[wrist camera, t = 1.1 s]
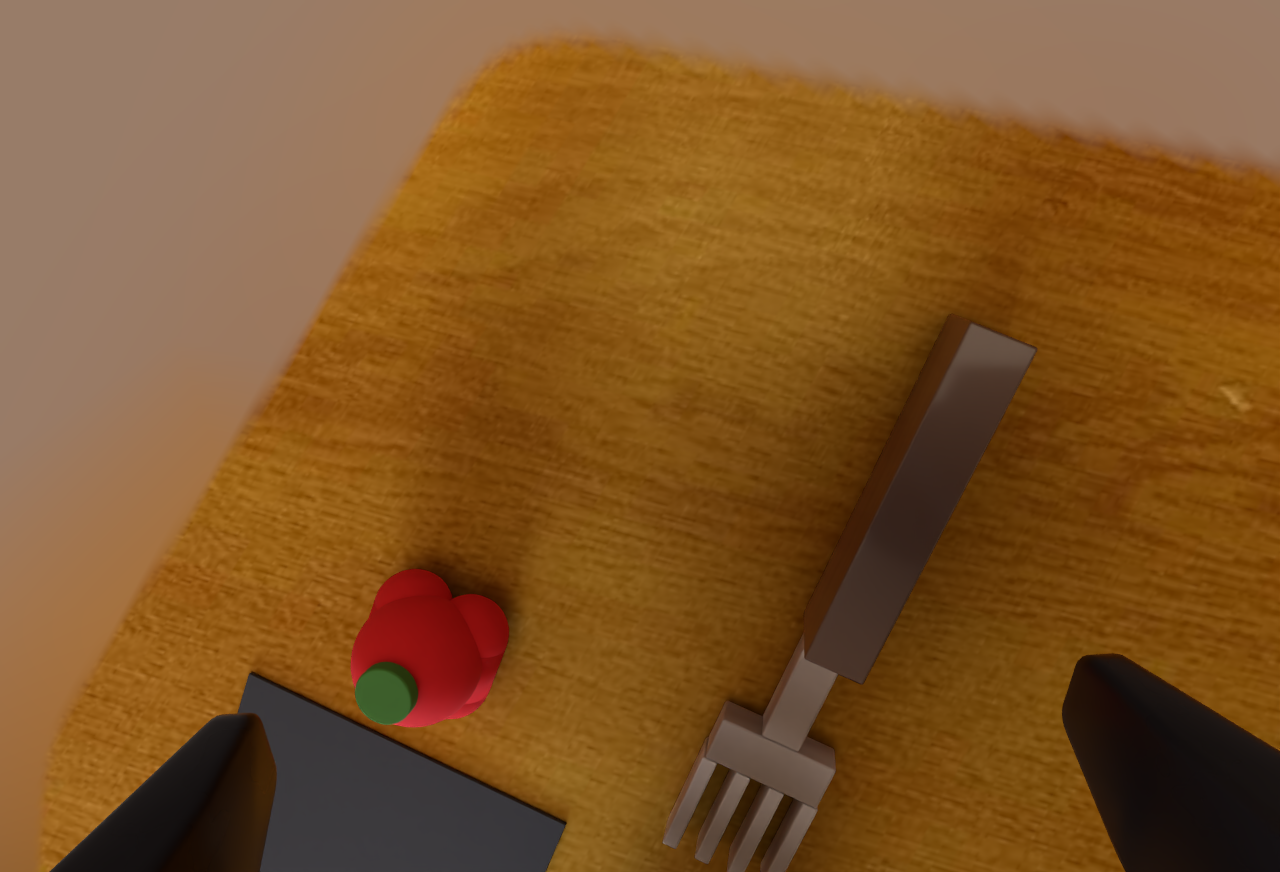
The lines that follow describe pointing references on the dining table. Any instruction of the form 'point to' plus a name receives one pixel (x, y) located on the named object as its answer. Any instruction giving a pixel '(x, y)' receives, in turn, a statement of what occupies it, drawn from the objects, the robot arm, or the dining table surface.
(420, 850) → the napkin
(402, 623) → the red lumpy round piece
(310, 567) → the dining table surface
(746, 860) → the fork
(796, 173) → the dining table surface
